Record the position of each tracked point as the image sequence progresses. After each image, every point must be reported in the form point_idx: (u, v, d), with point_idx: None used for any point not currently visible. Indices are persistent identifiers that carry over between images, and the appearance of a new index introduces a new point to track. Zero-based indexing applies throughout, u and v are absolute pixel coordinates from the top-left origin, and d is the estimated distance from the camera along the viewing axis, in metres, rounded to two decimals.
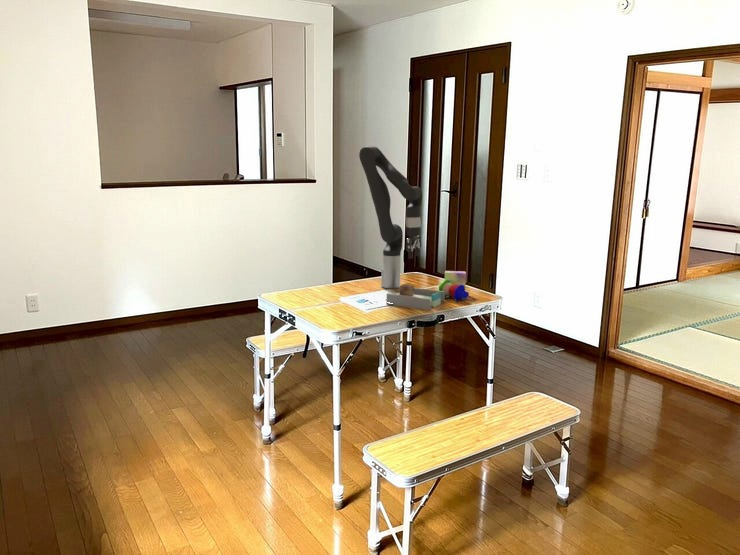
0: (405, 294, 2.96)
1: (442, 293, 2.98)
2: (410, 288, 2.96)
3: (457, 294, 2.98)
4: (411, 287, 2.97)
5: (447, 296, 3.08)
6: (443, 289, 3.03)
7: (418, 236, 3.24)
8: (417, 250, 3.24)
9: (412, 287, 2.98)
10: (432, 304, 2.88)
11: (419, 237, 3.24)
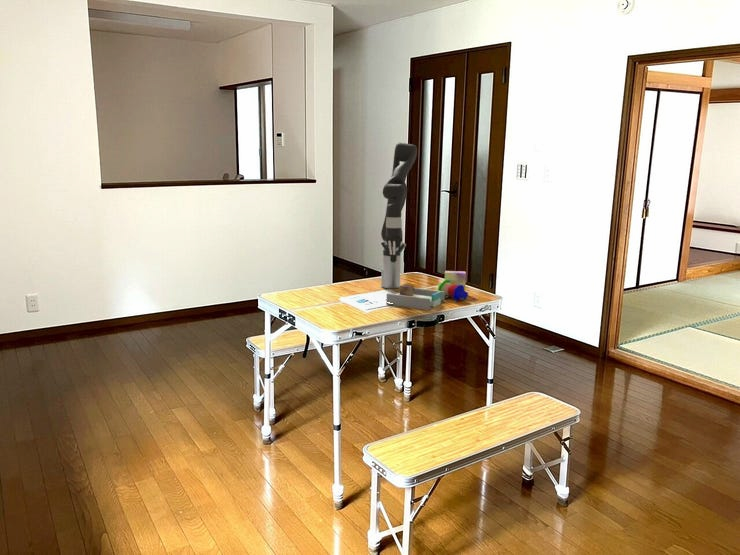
0: (405, 294, 2.96)
1: (442, 293, 2.98)
2: (410, 288, 2.96)
3: (456, 294, 2.98)
4: (411, 287, 2.97)
5: (446, 296, 3.08)
6: (442, 289, 3.03)
7: None
8: None
9: (412, 287, 2.98)
10: (432, 304, 2.88)
11: None
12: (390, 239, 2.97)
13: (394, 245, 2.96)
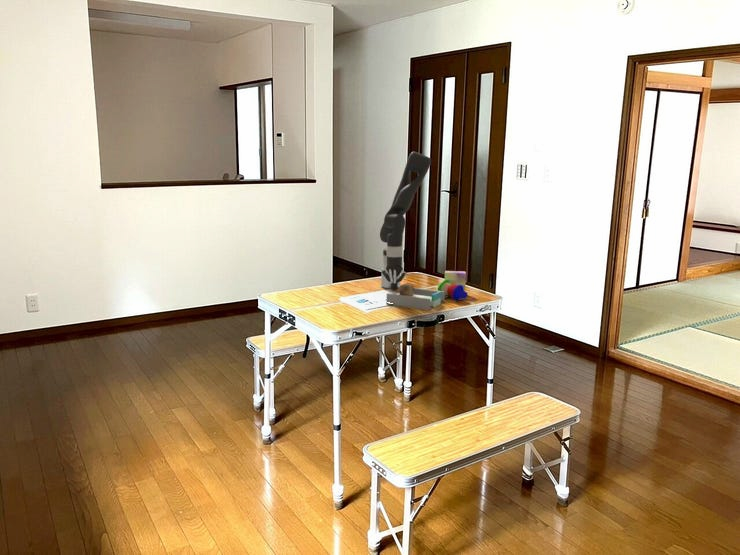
0: (405, 294, 2.96)
1: (442, 293, 2.98)
2: (410, 288, 2.96)
3: (456, 294, 2.98)
4: (411, 287, 2.97)
5: (446, 296, 3.08)
6: (442, 289, 3.03)
7: (385, 270, 3.03)
8: None
9: (412, 287, 2.98)
10: (432, 304, 2.88)
11: None
12: (391, 268, 2.99)
13: (395, 274, 2.98)
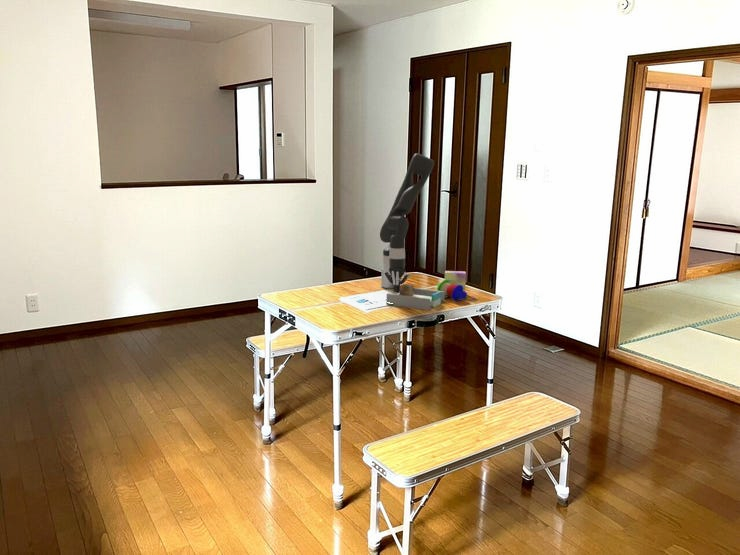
0: (405, 294, 2.96)
1: (442, 293, 2.98)
2: (410, 288, 2.96)
3: (455, 294, 2.98)
4: (411, 287, 2.97)
5: (446, 296, 3.08)
6: (441, 289, 3.03)
7: (388, 271, 3.02)
8: None
9: (412, 287, 2.98)
10: (432, 304, 2.88)
11: None
12: (393, 269, 2.98)
13: (397, 275, 2.97)
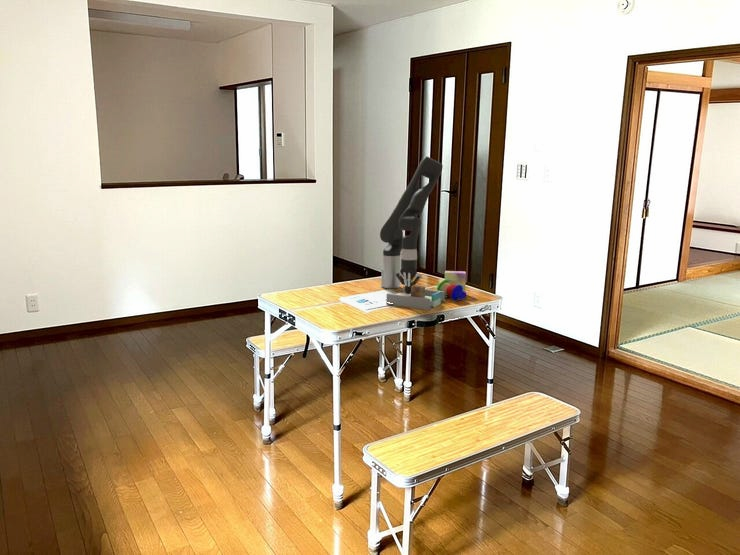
0: (416, 296, 2.93)
1: (442, 293, 2.98)
2: (422, 290, 2.93)
3: (454, 294, 2.98)
4: (423, 289, 2.94)
5: (445, 296, 3.08)
6: (441, 289, 3.03)
7: (399, 272, 2.99)
8: None
9: (424, 289, 2.95)
10: (432, 304, 2.88)
11: None
12: (405, 271, 2.95)
13: (409, 277, 2.94)
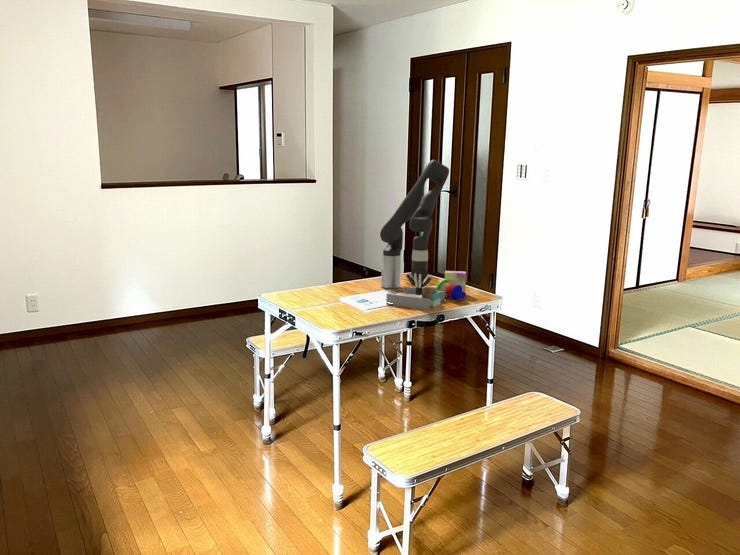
0: (427, 297, 2.91)
1: (442, 293, 2.98)
2: (433, 291, 2.90)
3: (454, 294, 2.98)
4: (434, 290, 2.91)
5: (445, 296, 3.08)
6: (440, 289, 3.03)
7: (410, 273, 2.96)
8: None
9: (435, 290, 2.92)
10: (432, 304, 2.88)
11: None
12: (416, 272, 2.93)
13: (420, 278, 2.92)
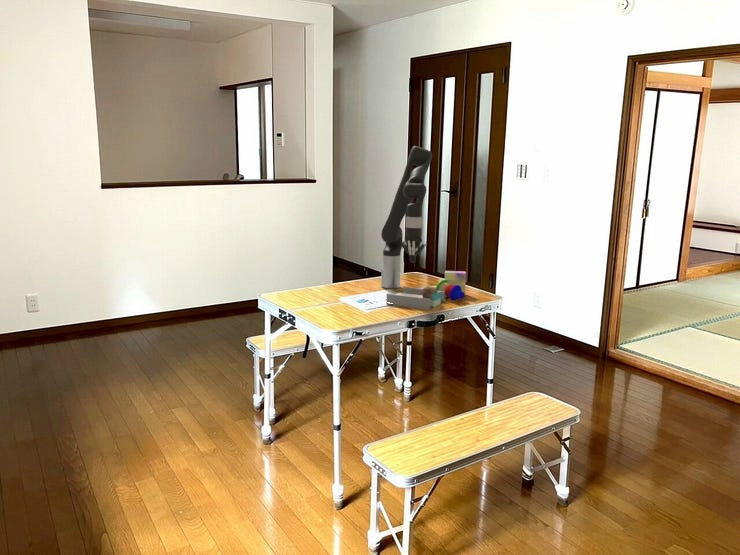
0: (428, 297, 2.90)
1: (442, 293, 2.98)
2: (433, 291, 2.90)
3: (453, 294, 2.98)
4: (434, 290, 2.91)
5: None
6: (439, 289, 3.03)
7: None
8: None
9: (435, 290, 2.92)
10: (432, 304, 2.88)
11: None
12: (410, 239, 2.92)
13: (413, 245, 2.91)
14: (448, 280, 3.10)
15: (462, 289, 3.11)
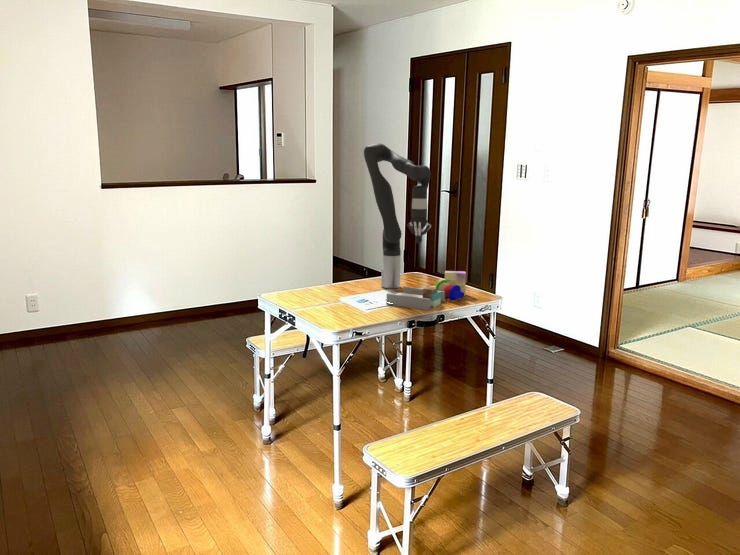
0: (428, 297, 2.90)
1: (442, 293, 2.98)
2: (433, 291, 2.90)
3: (452, 294, 2.98)
4: (434, 290, 2.91)
5: None
6: (439, 289, 3.03)
7: None
8: None
9: (435, 290, 2.92)
10: (432, 304, 2.88)
11: None
12: (416, 220, 3.01)
13: (419, 226, 3.00)
14: (448, 280, 3.10)
15: (462, 289, 3.11)
